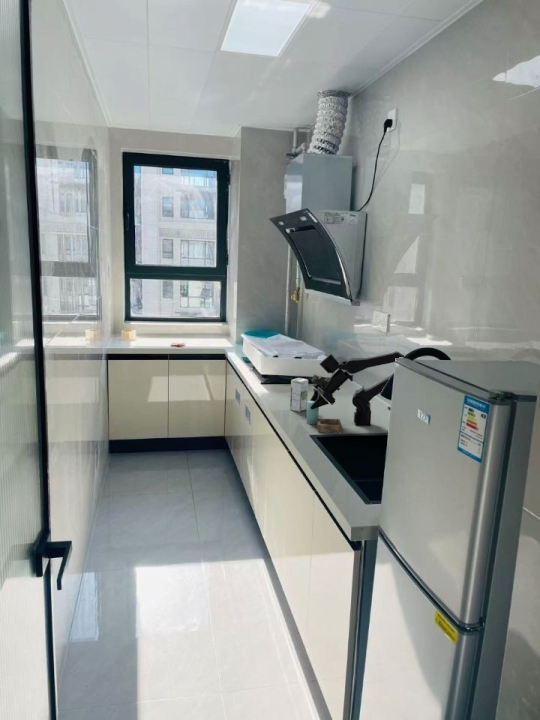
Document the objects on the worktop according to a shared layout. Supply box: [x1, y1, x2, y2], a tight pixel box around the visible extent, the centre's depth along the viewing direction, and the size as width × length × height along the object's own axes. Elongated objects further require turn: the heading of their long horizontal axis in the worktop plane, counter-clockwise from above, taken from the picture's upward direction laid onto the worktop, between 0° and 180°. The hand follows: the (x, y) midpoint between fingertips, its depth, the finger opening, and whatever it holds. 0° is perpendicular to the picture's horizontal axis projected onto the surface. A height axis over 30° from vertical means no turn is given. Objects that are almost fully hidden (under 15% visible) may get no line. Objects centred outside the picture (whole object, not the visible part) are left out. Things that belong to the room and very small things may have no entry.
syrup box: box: [289, 377, 309, 413], centre depth 256 cm, size 6×6×14 cm
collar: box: [316, 418, 343, 433], centre depth 228 cm, size 9×9×3 cm
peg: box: [306, 400, 320, 425], centre depth 236 cm, size 5×5×9 cm
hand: (309, 407), depth 236 cm, fingers closed on peg, 5 cm apart
